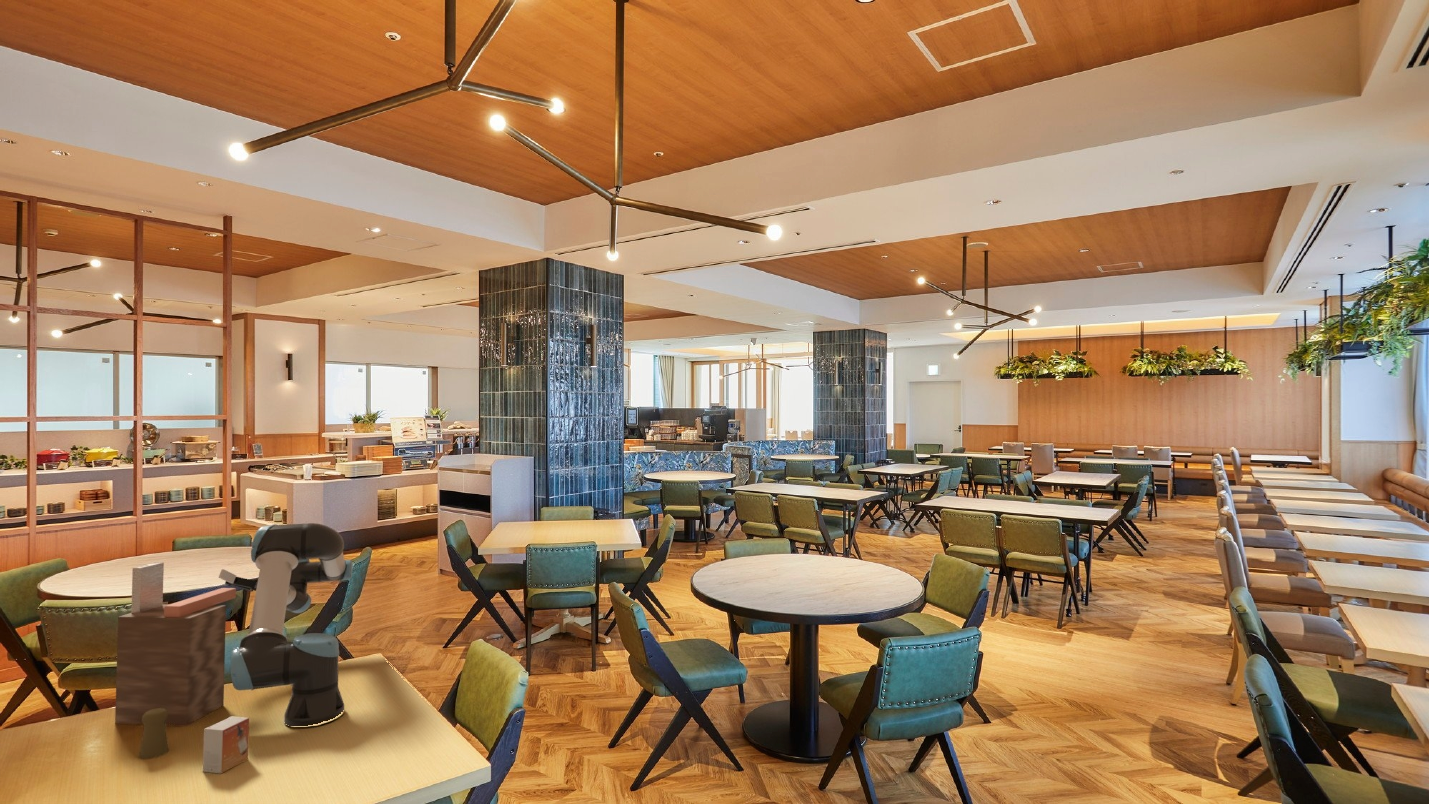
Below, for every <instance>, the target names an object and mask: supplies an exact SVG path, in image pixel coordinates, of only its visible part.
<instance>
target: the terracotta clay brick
mask: <svg viewBox="0 0 1429 804" xmlns="http://www.w3.org/2000/svg"><path fill="white" fill-rule="evenodd" d="M236 593H237V587H221V588H218V589H217V588H216V589H214V590H212V591H207V592H204V593H201V594H198V595H194V596H192V597H189V598H186V599H183V600H179V601H177V602H173V603H169V604H170V605H166V606H164V617H181V616H184V615H187V614H190V613H193V612H196V611H198V610H201V609H204V608H207V607H210V606H213V605H218V604H219V605H220V604H222V603H225V602H227V601H230V600H233V599H236V597H237V594H236Z"/></svg>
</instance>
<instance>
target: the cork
mask: <svg viewBox="0 0 1429 804" xmlns="http://www.w3.org/2000/svg"><path fill="white" fill-rule="evenodd" d="M167 716H168V713H167V711H166V709H163V708H157V709H152V710H149V711H147V712H146V713H145V714H144V715H143V717H142V722H143V724H144V725H143V726H144V728H143V731H142V732H143V733H142V739H141V742H140V743H141V744H140V747H139V748H140V749H139V753H138V758H139V759H141V760H149V759H154V758H158V757H161V756H163V755H166V753H168V752H169V751H170V750H169V743H168V742H169V741H168V735H167V729H166V727H167V726H166V725H165V720H166V719H167Z"/></svg>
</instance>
